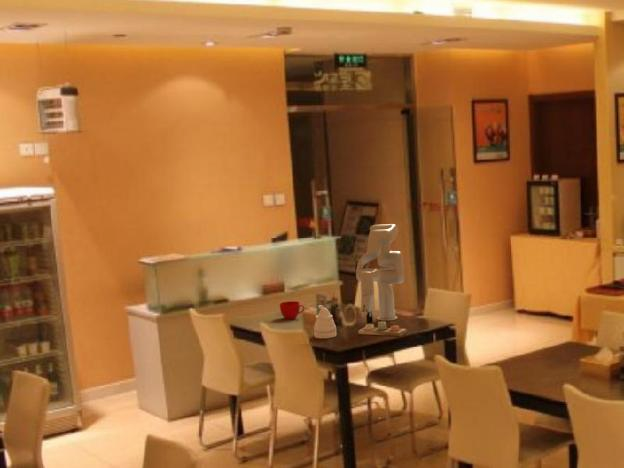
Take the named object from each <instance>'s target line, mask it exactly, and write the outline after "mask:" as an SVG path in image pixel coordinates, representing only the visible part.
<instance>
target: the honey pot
mask: <svg viewBox="0 0 624 468" xmlns="http://www.w3.org/2000/svg"><path fill="white" fill-rule="evenodd" d="M317 307H318V309H319V312H318V314H317V315H315V319H316V320H315V324H314V327H313V333H314V338H316V339H331V338H336V336H337V326H336V324H335V320H334V318H333V315H332V314H331V313H330V311H329V309H327V307H324V306H323V305H321V304H320V305H318V306H317Z"/></svg>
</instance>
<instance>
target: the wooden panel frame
mask: <svg viewBox="0 0 624 468" xmlns="http://www.w3.org/2000/svg"><path fill="white" fill-rule="evenodd" d="M407 331H408V330H407V328H399V331H398V332H394V331H391V327H386V330H378V326H377V327H376V326H374V330H366V326H364V327H362V328H360V329H359V330H358V332H357V333H358V335H373V336H374V335H375V336H389V335H390V336H391V337H394V336H395V337H401V336H403V335H404V334H406V333H407Z"/></svg>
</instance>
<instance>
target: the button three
mask: <svg viewBox="0 0 624 468" xmlns="http://www.w3.org/2000/svg"><path fill="white" fill-rule="evenodd" d="M390 328H391V331H394V332H398V331H399V329H400V326H399V325H391V326H390Z"/></svg>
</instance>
